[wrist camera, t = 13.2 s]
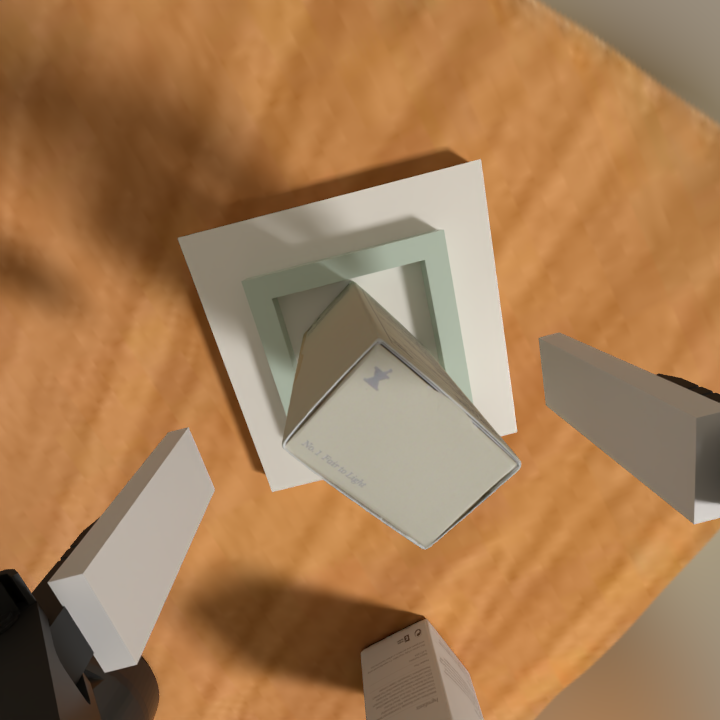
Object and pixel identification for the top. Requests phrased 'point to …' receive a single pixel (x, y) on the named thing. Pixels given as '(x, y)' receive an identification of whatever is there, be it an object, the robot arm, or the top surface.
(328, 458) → the skincare box
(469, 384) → the collar plate
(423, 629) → the skincare box
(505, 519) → the top surface
